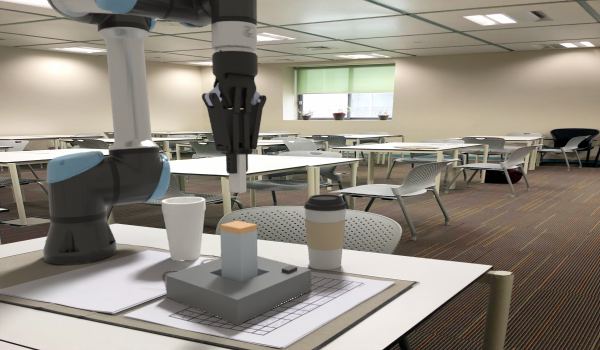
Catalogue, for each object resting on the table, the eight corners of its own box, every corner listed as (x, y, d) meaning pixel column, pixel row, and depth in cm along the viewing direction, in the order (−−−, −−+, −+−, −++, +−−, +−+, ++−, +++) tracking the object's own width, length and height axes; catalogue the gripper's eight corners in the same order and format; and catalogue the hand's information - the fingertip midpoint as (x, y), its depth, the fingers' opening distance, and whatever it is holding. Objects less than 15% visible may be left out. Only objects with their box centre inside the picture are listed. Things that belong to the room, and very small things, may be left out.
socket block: (166, 297, 82) (165, 271, 81) (241, 270, 96) (240, 249, 95) (238, 325, 71) (237, 296, 70) (310, 290, 84) (310, 266, 84)
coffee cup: (297, 268, 97) (297, 197, 95) (312, 256, 106) (312, 190, 104) (339, 273, 94) (339, 199, 92) (351, 260, 102) (352, 193, 100)
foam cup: (161, 253, 108) (159, 198, 107) (201, 249, 112) (200, 195, 110) (167, 265, 99) (165, 205, 98) (210, 260, 103) (208, 202, 102)
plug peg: (222, 290, 83) (220, 224, 82) (238, 284, 86) (237, 220, 85) (241, 297, 80) (240, 228, 79) (257, 290, 83) (256, 224, 82)
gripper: (220, 45, 71) (224, 199, 74) (277, 54, 81) (279, 189, 84) (189, 50, 75) (193, 194, 78) (247, 57, 85) (249, 185, 88)
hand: (237, 191), depth 81 cm, fingers closed
